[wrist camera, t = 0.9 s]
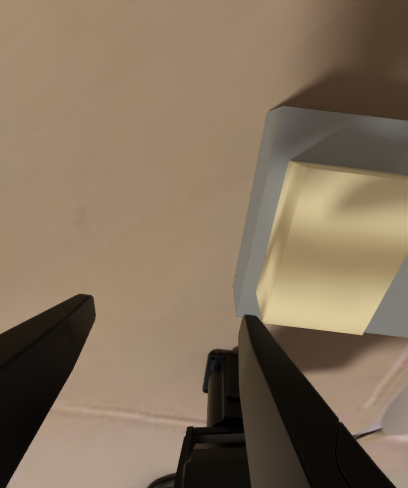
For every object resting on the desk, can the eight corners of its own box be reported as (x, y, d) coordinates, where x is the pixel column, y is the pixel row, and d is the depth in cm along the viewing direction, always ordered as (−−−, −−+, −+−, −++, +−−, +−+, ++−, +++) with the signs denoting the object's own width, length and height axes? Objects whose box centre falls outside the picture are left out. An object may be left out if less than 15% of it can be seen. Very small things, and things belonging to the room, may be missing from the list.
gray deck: (406, 306, 21) (444, 342, 18) (233, 285, 21) (236, 316, 18) (510, 140, 15) (600, 143, 12) (267, 111, 15) (282, 105, 12)
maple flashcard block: (338, 302, 17) (362, 335, 14) (255, 292, 17) (263, 322, 14) (398, 173, 13) (446, 184, 10) (289, 160, 13) (308, 168, 10)
